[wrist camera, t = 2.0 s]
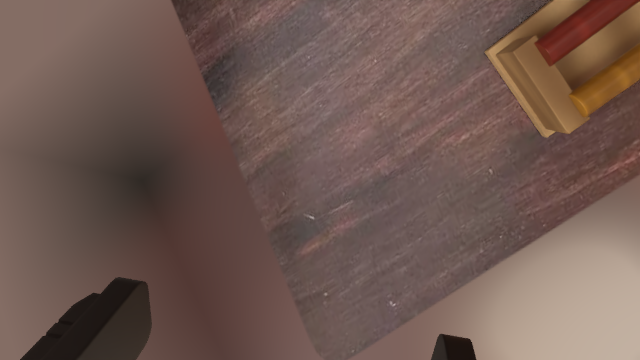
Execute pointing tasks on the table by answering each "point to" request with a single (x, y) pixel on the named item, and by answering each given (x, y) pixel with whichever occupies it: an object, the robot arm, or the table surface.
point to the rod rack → (570, 60)
